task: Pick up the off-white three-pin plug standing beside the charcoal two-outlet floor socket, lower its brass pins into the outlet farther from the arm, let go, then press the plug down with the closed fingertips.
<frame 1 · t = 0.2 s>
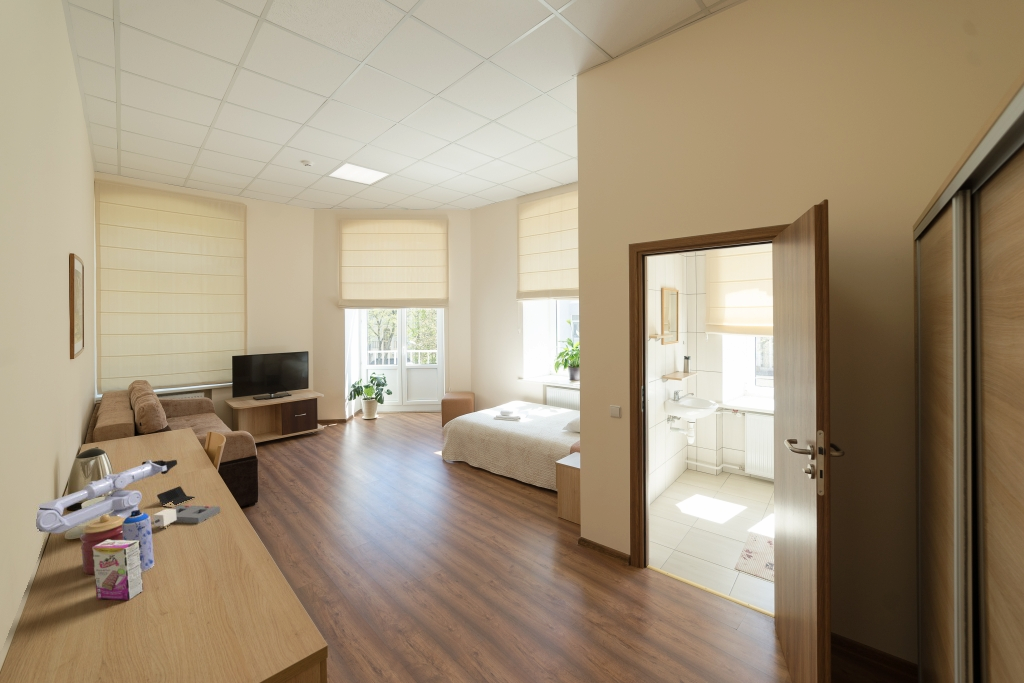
hand: (169, 462, 202), 21 cm above the table, tool horizontal, fingers open, 7 cm apart
aerosol can: (140, 569, 152), on the table
candy bar box: (120, 596, 137), on the table
canister: (108, 565, 155), on the table
socket: (189, 516, 193), on the table
black angular piece: (176, 503, 210), on the table
plug: (165, 527, 183), on the table
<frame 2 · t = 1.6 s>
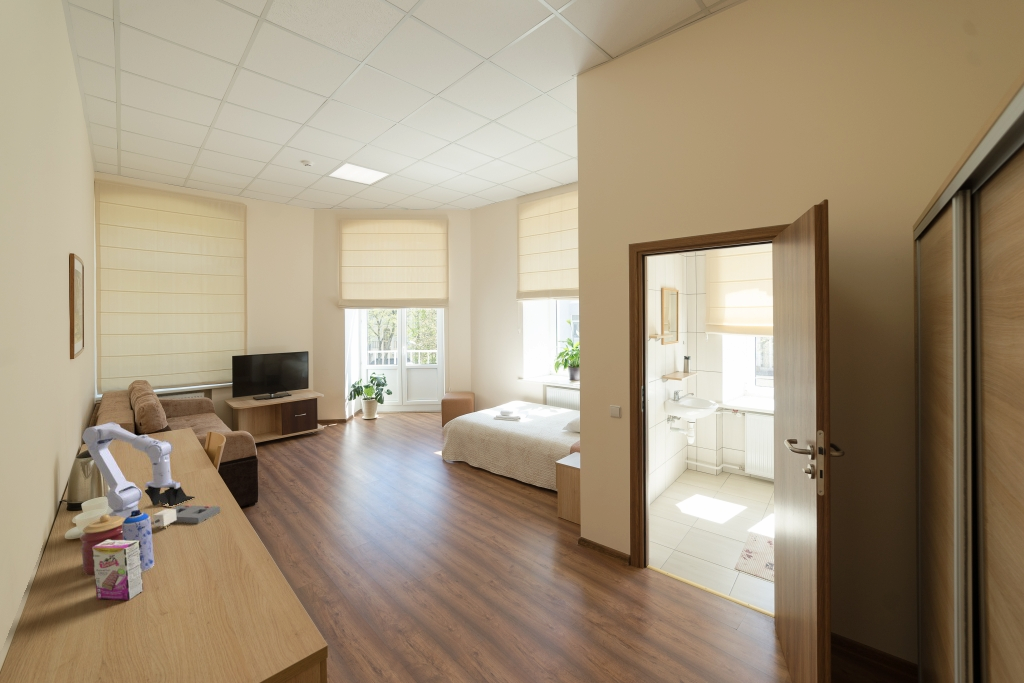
hand: (164, 504, 183), 9 cm above the table, tool pointing down, fingers open, 7 cm apart
nothing on the table moved.
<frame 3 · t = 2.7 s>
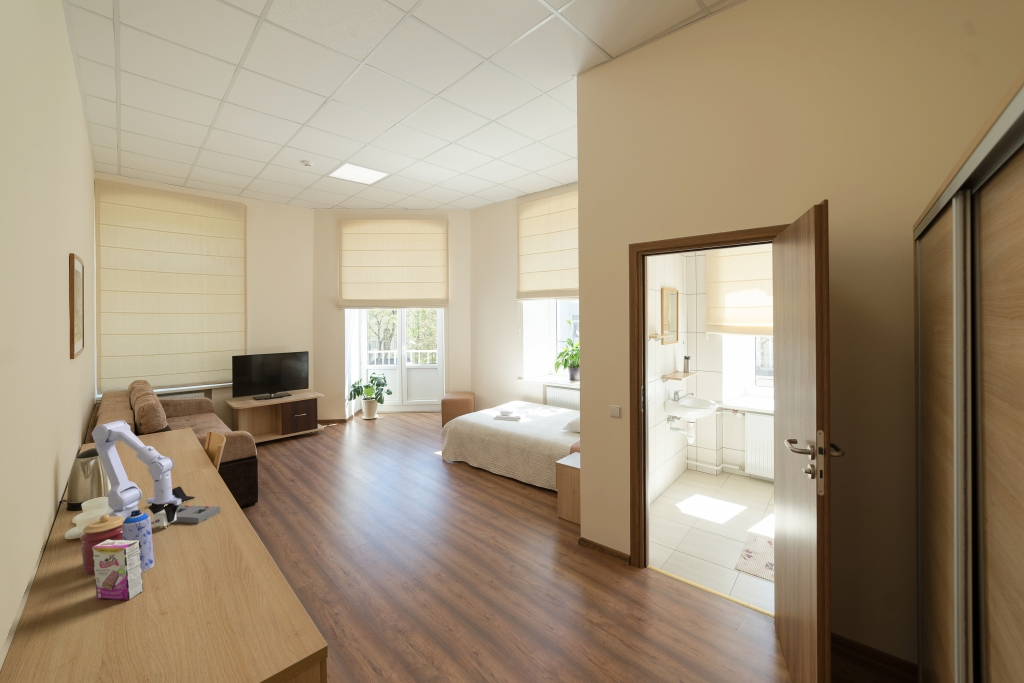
hand: (165, 521, 183), 3 cm above the table, tool pointing down, fingers closed on plug, 5 cm apart
plug: (165, 527, 183), on the table, touching gripper
everything else where it was.
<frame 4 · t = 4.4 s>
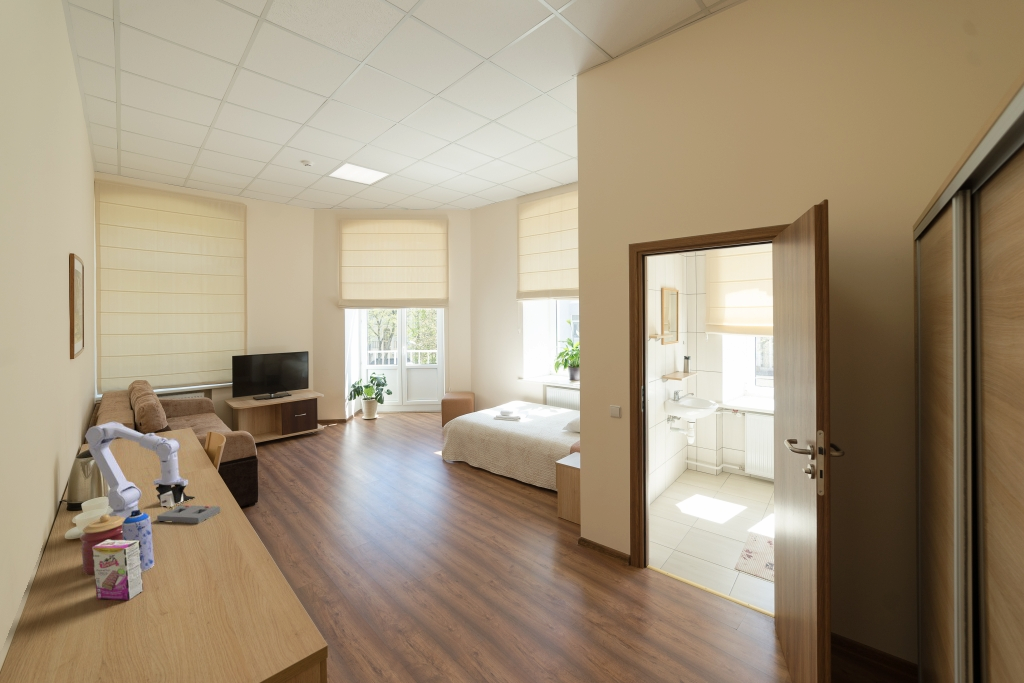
hand: (172, 502, 185), 10 cm above the table, tool pointing down, fingers closed on plug, 5 cm apart
plug: (172, 508, 185), point 7 cm above the table, touching gripper
everything else where it was.
when the fingers open (4 cm above the table, at t = 6.2 s): plug stays where it is, resting on socket.
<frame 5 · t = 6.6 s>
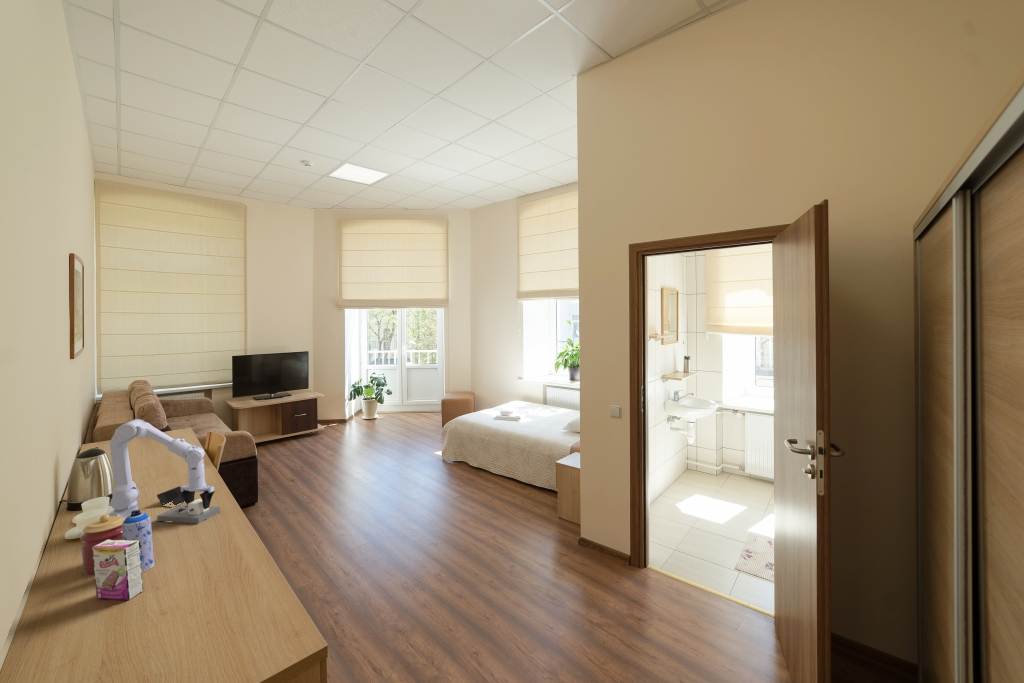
hand: (198, 507, 192), 4 cm above the table, tool pointing down, fingers open, 7 cm apart
plug: (199, 516, 192), resting on socket
everything else where it was.
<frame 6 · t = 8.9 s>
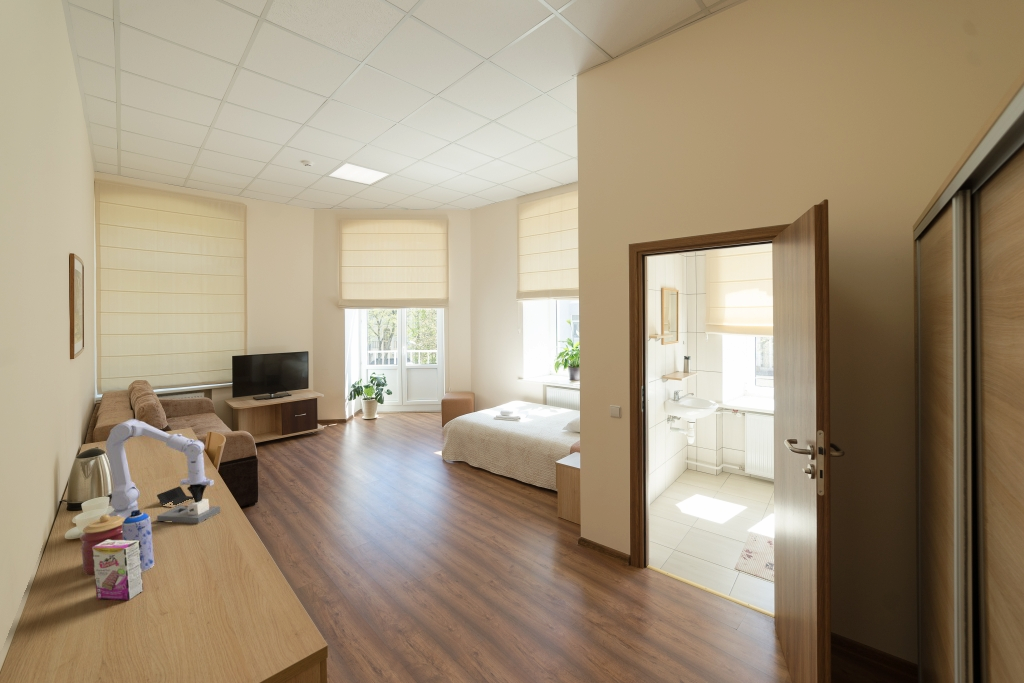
hand: (198, 501, 192), 7 cm above the table, tool pointing down, fingers closed, pressing on plug
plug: (199, 516, 192), resting on socket, touching gripper
everything else where it was.
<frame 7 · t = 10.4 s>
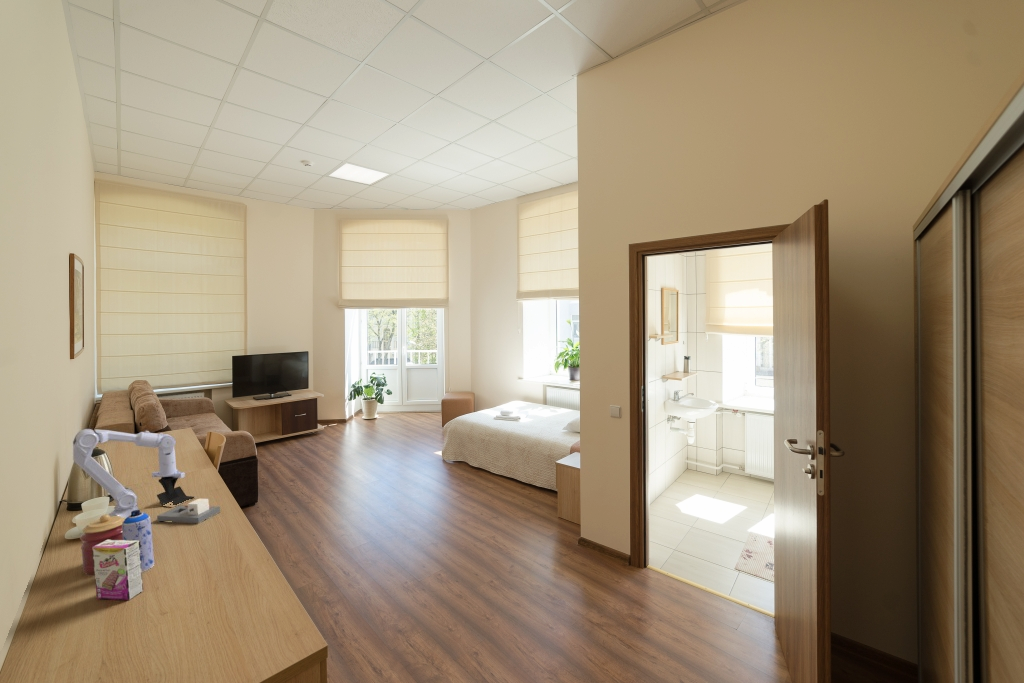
hand: (169, 493, 194), 10 cm above the table, tool pointing down, fingers closed
plug: (199, 516, 192), resting on socket
everything else where it was.
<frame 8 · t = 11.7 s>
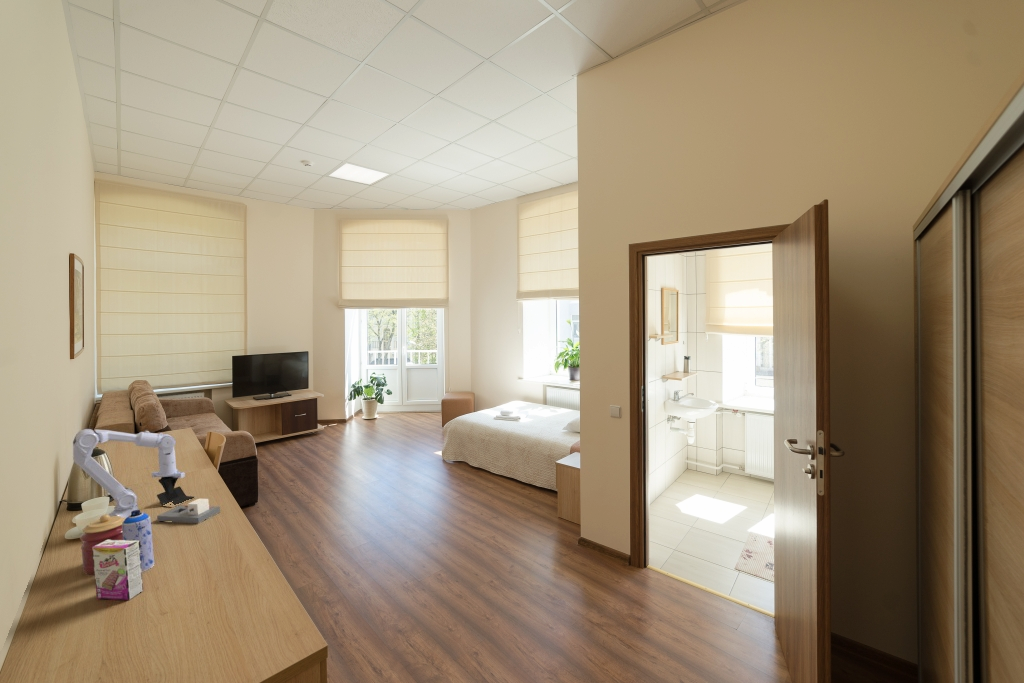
hand: (169, 493, 194), 10 cm above the table, tool pointing down, fingers closed
nothing on the table moved.
at the end: plug 0.1 cm from the target spot on the socket, point 0.5 cm above the socket's base; plug tilted 0°; the gripper is holding nothing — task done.
